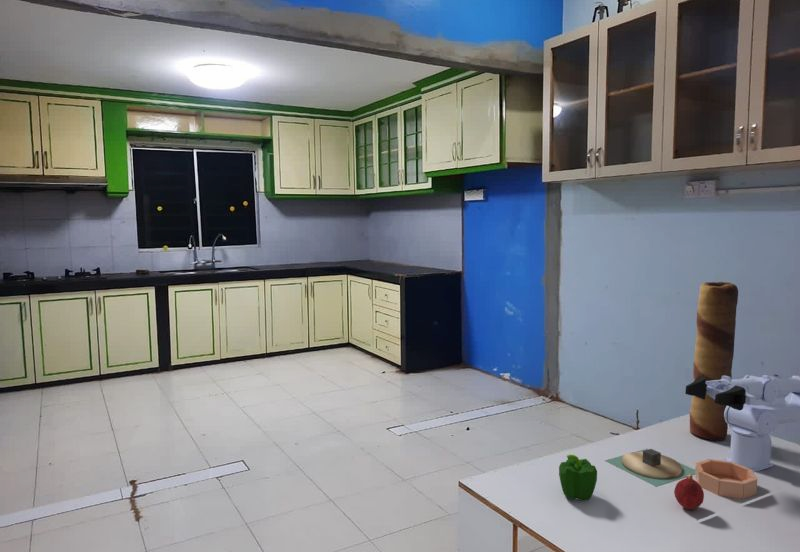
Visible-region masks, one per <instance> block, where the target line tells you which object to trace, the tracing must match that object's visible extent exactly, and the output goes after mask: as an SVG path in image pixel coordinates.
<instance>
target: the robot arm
mask: <svg viewBox="0 0 800 552" xmlns="http://www.w3.org/2000/svg"><path fill="white" fill-rule="evenodd" d="M685 394H686V395H688V396H696V397H698V398H701V399H705V395H706V394H708V395H709V396H710V397H712V398H713V399H715V403H716V404H720V405H726V408H725V411H724V418H725V421H726V423H727V424H728V429H730V430H731V433H730V451H729V453H730V454H729V457H726V458H723V459H721V460H722V461H731V462H734V463H736V464H739V465H741V466H744V467H746V468H749V469H751V470H752V471H753V473H755V472H757V471H764V470H766V469H769V468H772V467H774V466H775V464H774V463H773V462H771V457H772V456H771V455H772V443H773V442H772V438H771V436H770V433H771V432H774V431H776V429H777V427H778V425H783V424H789V423H797V422H800V375H792V376H791V377H788V378H786V377H785V376H782V374H779V373H775V372H774V373H772V375H766V374H763V375H762V376H755V375H750V374H746V375H744V377H743V378H736V379H735V378H734V379H732V380H731V378H730V377H729V376H722V377H721V380H713V381H706V377H702V376H698V377H697V378H696V379H695V381H694V382H691V383H689V384H687V385H686V386H685ZM779 398H780V399H781V398H784V402H777V403H773V402H774V401H775V400H776V399H779ZM756 401H761V402H764V403H766V404H760V405H759V404H758V405H755V403H756ZM768 403H769V404H768Z"/></svg>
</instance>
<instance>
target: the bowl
mask: <svg viewBox="0 0 800 552" xmlns="http://www.w3.org/2000/svg"><path fill="white" fill-rule="evenodd" d="M722 460H723V459H721V460H719V459H710V458H709V459H705V460H701V461H698V462H695V467H694V469H695V474H694V478H695V481H696V482H697V483H698V484H699V485H700V486H701V487H702V489H703V490H706V491H707V492H710V493H712V494H714V495H715V496H716V495H717V496H719V497H727V498H735V499H746V498H749V497H752V496H754V495H757V494H758V493H757V490H758V477H757V475H756V474H755V472H753V471H752V470H751V469H749V468H746V467H744V466H741V465H739V464H736V463H734V462H731V461H722Z"/></svg>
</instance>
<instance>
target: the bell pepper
mask: <svg viewBox="0 0 800 552" xmlns="http://www.w3.org/2000/svg"><path fill="white" fill-rule="evenodd" d="M566 457H567V459H566V461H561V462H560V463H559V466H558V476H559V477H558V478H559V483H560V485H561V489H562V491H563V492H562V493H563V494H564V496H565V497H567V498H568V499H569V500H580V501H584V502H586V501H589V500H590V499H591V497H592V496H593V494H594V492H595V488H596V484H597V481H598V470H597V468H596V466H595V465H593V464H591V462H590V461H589V459H587V458H582V459H581V458H579V457H578V456H576V455H575V454H567V455H566Z"/></svg>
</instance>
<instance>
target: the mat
mask: <svg viewBox="0 0 800 552" xmlns="http://www.w3.org/2000/svg"><path fill="white" fill-rule="evenodd" d="M648 449H649V448H645V449H642V450H636V452H643V451H645V450H648ZM624 455H625V454H622V455H619V456H615V457H611V458H608V459H606V460H604V462H606V463H609V464H610V465H612V466H614V467H616V468H618V469H620V470H622V471H625V472H626V473H628V474H630V475H632V476H634V477H637V478H639V479H640V480H642V481H644V482H646V483H648V484H650V485H652V486H654V487H656V488H657V487H659V486H662V485H665V484H668V483H672V482H675V481H678V480H683V479H686V478H687V475H689V474H690V475H692V476H693V475H694V476H695V468H693V467H690V466H687V465H686V464H683V463H681V462H679V461H677V462H678V463H679V464H680V465H681V467H682V473H681V474H680V475H679V476H678V477H675V478H670V479H656V478H649V477H645V476H641V475H638V474H635V473H633V472H631V471H629V470H628V469H626V468H625V467H624V466H623V464H622V458H623V456H624Z"/></svg>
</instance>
